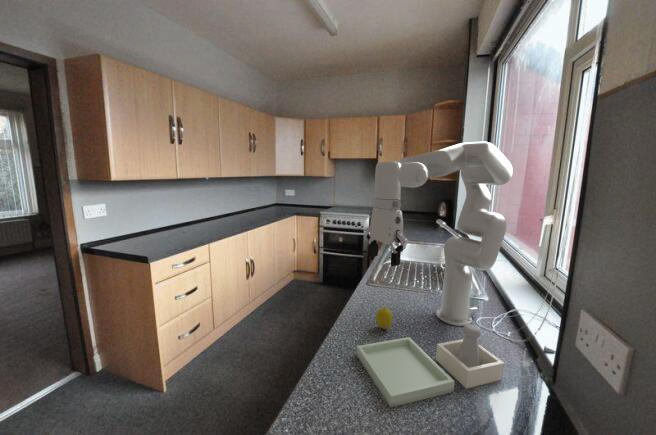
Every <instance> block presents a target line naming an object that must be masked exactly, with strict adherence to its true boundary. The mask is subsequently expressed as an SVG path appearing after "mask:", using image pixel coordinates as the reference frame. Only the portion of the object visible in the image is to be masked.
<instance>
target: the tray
mask: <svg viewBox="0 0 656 435" xmlns="http://www.w3.org/2000/svg"><path fill="white" fill-rule="evenodd" d="M356 357H357V359H359V361H360V363H361V364H362V366H363V367H364V369H365V370H366V372H367V373H368V376H370V378H371V379H372V381H373V383H374V385H376V387H377V389H378V391H379V393H381V395H382V397H383V399H384V400H385V402H386V403H387V404H388V406H389V408H394V407H399V406H403V405H406V404H411V403H415V402H419V401H422V400H426V399H431V398H434V397H439V396H443V395H446V394H450V393H454V390H455V384H456V383H455V380H454V379H453V378H452V377H451V376H450V375H449V374H448V373H447V372H446V371H445V370H444V369H443V368H442V367H440V366H439V364H437V363H436V361H435V360H433V358H431V357H430V356H429V354H427V353H426V352H425V351H424V350H423V349H422V348H421V347H420V346H419V345H418V344H417V342H415V341H414V339H412V338H411V337H410V336H408V337H403V338H396V339H390V340H384V341H378V342H372V343H368V344H362V345H361V344H360V345H357V346H356Z"/></svg>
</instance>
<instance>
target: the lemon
mask: <svg viewBox="0 0 656 435" xmlns="http://www.w3.org/2000/svg"><path fill="white" fill-rule="evenodd" d="M375 319H376V324H377V325H378V327H380V328H382V329H383V330H385V329H388V328H389V327H391V325H392V323H393V313H392V312H391V310H390V309H389V308H387V307H381V308H379V309H378V310H377V313H376V317H375Z"/></svg>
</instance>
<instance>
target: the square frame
mask: <svg viewBox="0 0 656 435" xmlns="http://www.w3.org/2000/svg"><path fill="white" fill-rule="evenodd" d="M463 339H464V338H462V339H456V340H451V341H445V342H441V343H440V342H439V343H437V344H436V353H435V360H436V362H438V363H439V364H440V365H441V366H442V367H443V368H444V369H445V370H446V371H447V372H448V373H449V374H450V375H452V377H454V379H455V380H456V381H457V382H459V383H460V384H461V385H462V386H463V387H464V388H465V389H471V388H474V387H479V386H481V385H486V384H487V385H488V384H491V383H494V382H498V381H501V380H503V375H504V368H505V362H504V361H503V360H501V359H500V358H498V357H497V356H496V355H494V354H493V353H492V352H490V351H489V350H487V349H486V348H484V347H483V346H482V345H480V344H479V343H478V348H479V361H480V365H479V366H475V367H471V368H468V367H467V366H466V365H465V364H463V363H462V362H461V361H460V360H459V359H458V358H457V356H458V353H459V350H460V347H461V345H462V342H463Z"/></svg>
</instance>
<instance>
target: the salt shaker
mask: <svg viewBox="0 0 656 435" xmlns="http://www.w3.org/2000/svg"><path fill="white" fill-rule="evenodd" d="M462 332H463V334H464V335H463V336H464V337H463V338H462V339H463V342H462V345H461V347H460V350H459V353H458V356H457V358H458V359H459V360H460V361H461V362H462V363H463V364H465V365H466V366H467V367H468V368H471V367H475V366H479V365H480V361H479V348H478V344H479V338H480V337H481V334H482V332H481V329H480V327H478V326H477V325H475V324H472V323H471V324H467V325H465V326H463V331H462Z"/></svg>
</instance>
